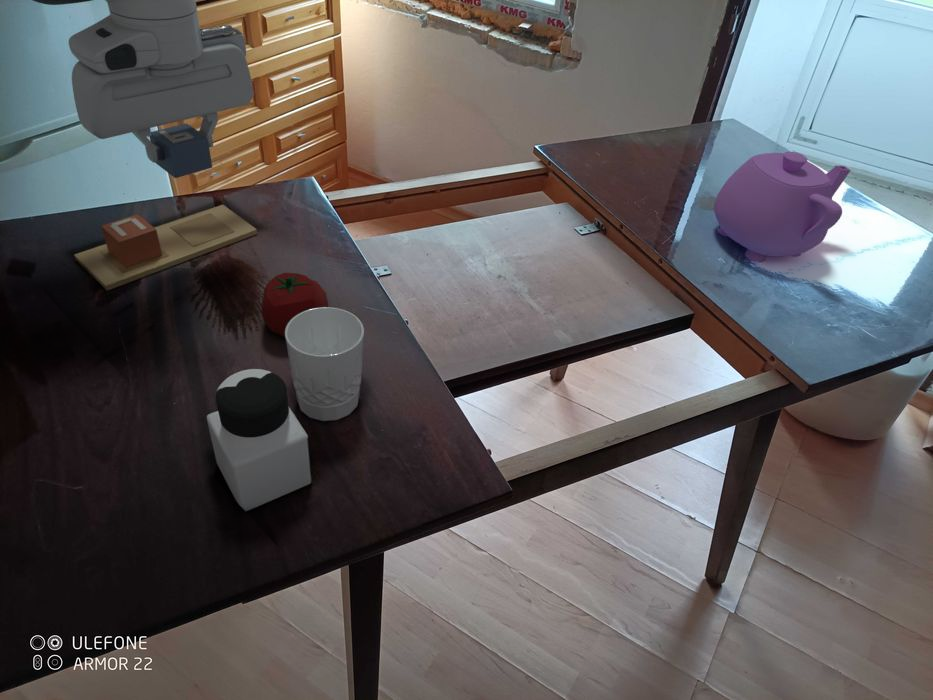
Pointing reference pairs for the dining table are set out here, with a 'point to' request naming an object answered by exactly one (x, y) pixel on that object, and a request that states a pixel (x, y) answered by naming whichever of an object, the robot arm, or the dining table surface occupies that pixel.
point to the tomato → (290, 299)
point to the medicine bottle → (258, 438)
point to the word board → (171, 246)
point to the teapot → (779, 205)
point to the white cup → (326, 361)
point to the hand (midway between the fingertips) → (181, 153)
